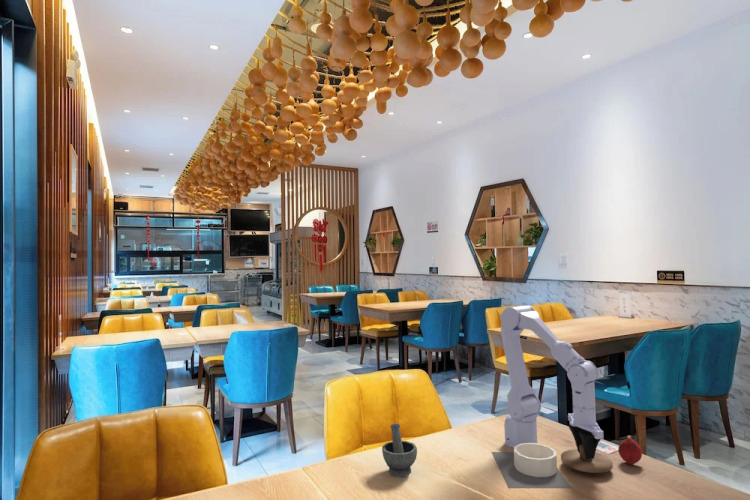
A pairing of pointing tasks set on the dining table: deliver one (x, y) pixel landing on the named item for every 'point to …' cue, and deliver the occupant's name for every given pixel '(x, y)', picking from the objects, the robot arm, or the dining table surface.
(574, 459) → the lid
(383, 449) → the mortar and pestle
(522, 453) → the bowl
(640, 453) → the onion
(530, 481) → the placemat
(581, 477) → the dining table surface
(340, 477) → the dining table surface
